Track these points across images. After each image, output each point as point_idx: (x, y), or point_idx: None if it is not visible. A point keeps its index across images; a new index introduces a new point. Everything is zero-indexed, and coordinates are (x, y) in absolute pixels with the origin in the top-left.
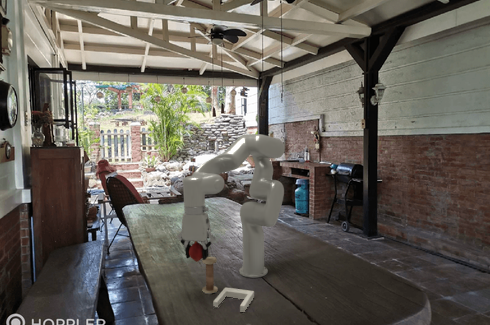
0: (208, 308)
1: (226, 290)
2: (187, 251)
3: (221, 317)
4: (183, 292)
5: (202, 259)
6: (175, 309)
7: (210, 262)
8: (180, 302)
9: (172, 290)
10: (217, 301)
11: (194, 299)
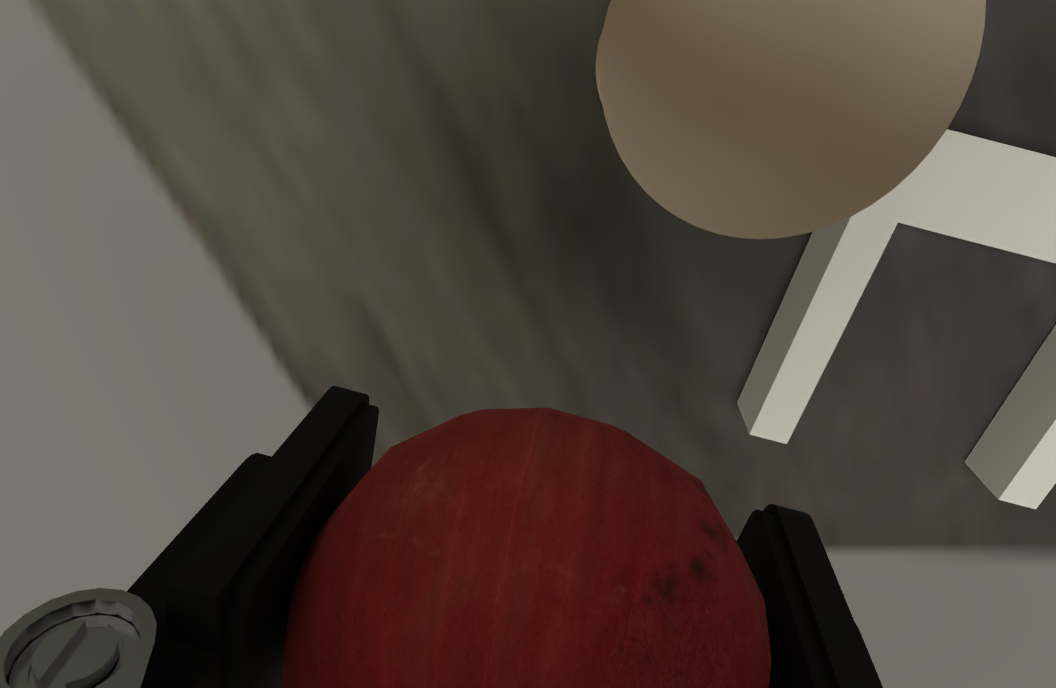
0: (695, 401)
1: (902, 204)
2: (278, 677)
3: None
4: (399, 105)
5: (608, 94)
6: (436, 414)
7: (805, 227)
8: (438, 309)
9: (269, 62)
10: (790, 432)
11: (547, 252)
